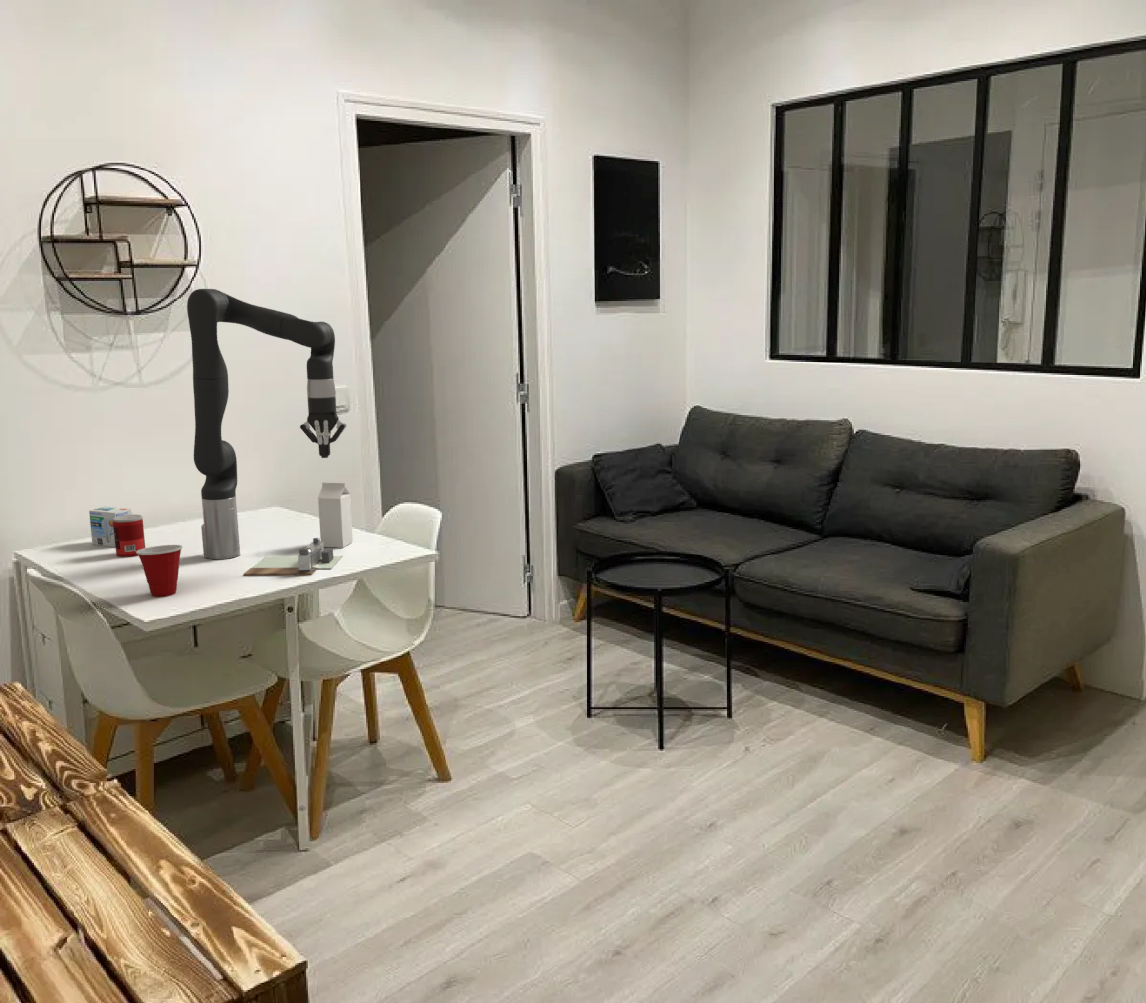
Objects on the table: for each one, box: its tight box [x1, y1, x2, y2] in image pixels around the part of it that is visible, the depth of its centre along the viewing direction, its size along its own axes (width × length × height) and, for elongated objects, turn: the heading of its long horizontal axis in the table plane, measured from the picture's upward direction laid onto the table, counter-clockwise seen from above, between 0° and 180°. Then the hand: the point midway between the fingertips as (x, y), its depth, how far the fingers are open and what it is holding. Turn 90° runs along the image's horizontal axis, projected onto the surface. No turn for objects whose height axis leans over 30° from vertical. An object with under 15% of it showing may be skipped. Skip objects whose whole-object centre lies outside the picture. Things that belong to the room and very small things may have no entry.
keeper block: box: [321, 547, 334, 563], centre depth 280 cm, size 2×5×4 cm, turn 0°
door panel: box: [251, 555, 343, 570], centre depth 279 cm, size 22×13×1 cm, turn 90°
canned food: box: [113, 514, 146, 558], centre depth 291 cm, size 8×8×11 cm
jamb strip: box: [243, 567, 318, 577], centre depth 270 cm, size 18×6×1 cm, turn 90°
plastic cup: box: [136, 544, 183, 598], centre depth 250 cm, size 11×11×12 cm
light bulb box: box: [88, 506, 133, 548], centre depth 303 cm, size 11×7×11 cm, turn 68°
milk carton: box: [317, 481, 354, 549], centre depth 298 cm, size 7×7×19 cm
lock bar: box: [297, 537, 325, 570], centre depth 275 cm, size 16×3×5 cm, turn 1°
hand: (325, 457), depth 279 cm, fingers closed
